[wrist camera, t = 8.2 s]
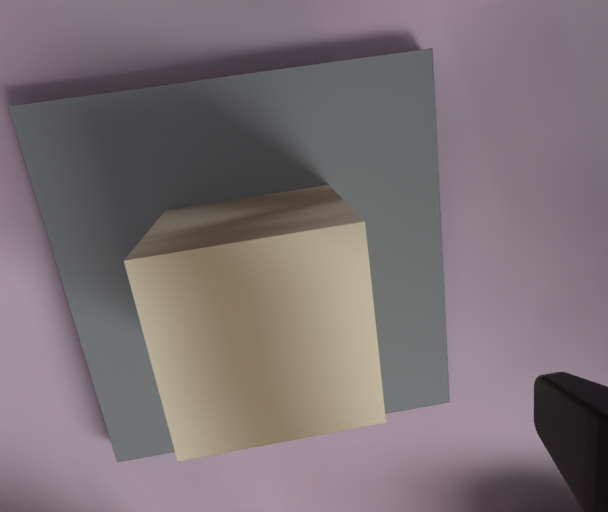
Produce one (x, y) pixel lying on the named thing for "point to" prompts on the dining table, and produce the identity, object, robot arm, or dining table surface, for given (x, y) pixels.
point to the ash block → (259, 320)
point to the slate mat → (236, 185)
